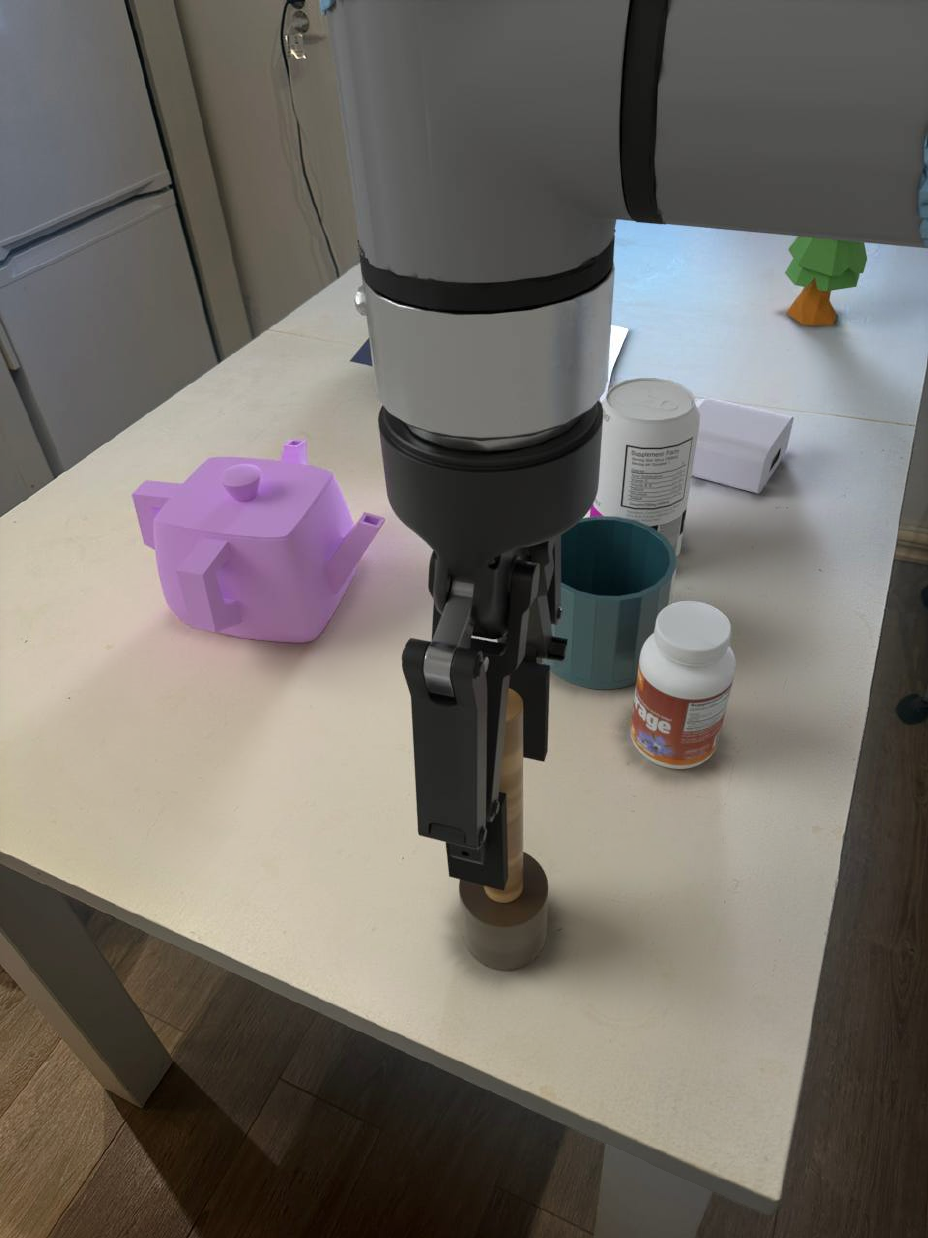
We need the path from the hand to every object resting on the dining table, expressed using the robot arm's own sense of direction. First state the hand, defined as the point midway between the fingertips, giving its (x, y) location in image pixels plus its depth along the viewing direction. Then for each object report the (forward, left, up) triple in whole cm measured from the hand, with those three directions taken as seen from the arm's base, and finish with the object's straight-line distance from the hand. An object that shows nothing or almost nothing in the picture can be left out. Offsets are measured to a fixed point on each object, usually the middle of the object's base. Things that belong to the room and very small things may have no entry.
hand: (501, 809), depth 44 cm
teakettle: (+36, +11, -12) cm, 40 cm away
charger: (+46, -33, -12) cm, 58 cm away
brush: (0, 0, -12) cm, 12 cm away
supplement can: (+33, -21, -12) cm, 41 cm away
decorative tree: (+73, -61, -12) cm, 96 cm away
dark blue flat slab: (+73, -18, -12) cm, 76 cm away
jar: (+22, -14, -12) cm, 29 cm away
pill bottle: (+11, -15, -12) cm, 23 cm away
